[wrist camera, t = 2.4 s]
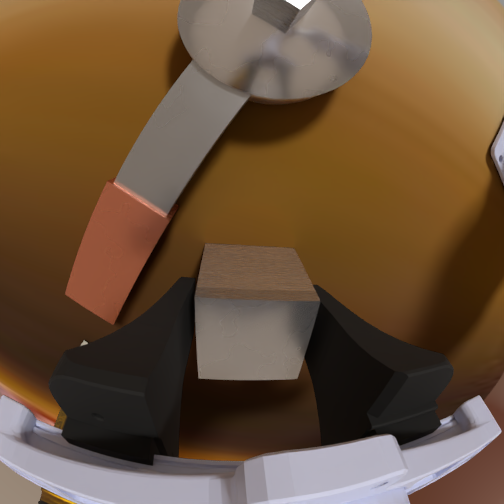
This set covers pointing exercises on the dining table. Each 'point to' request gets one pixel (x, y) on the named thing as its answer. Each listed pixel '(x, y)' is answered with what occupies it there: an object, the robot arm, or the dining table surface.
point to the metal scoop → (210, 120)
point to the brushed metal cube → (252, 313)
